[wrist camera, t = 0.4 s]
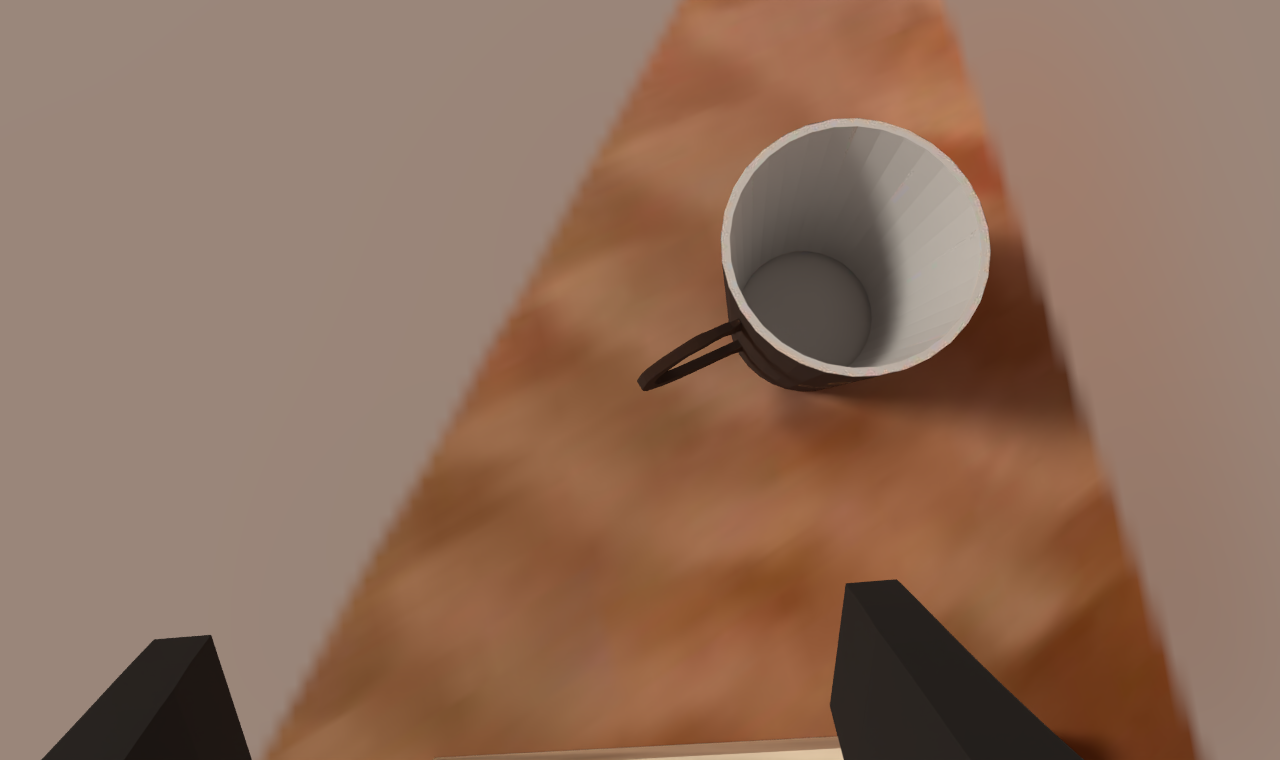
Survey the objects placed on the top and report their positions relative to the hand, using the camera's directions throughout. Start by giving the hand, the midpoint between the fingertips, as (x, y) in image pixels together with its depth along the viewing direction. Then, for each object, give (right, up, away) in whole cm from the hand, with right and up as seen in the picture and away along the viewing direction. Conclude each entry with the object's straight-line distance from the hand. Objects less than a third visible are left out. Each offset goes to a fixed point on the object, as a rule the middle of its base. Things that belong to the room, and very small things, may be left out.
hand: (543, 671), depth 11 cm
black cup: (+7, +6, +29) cm, 30 cm away
